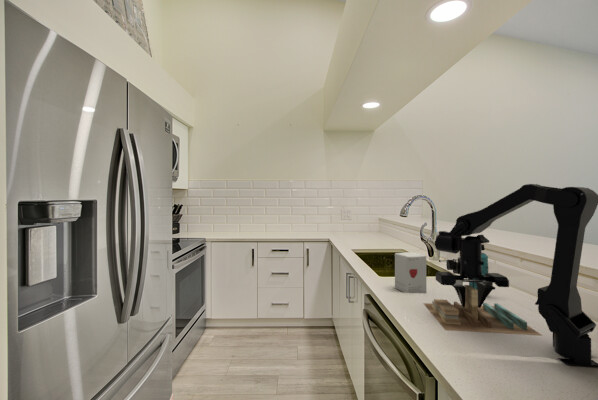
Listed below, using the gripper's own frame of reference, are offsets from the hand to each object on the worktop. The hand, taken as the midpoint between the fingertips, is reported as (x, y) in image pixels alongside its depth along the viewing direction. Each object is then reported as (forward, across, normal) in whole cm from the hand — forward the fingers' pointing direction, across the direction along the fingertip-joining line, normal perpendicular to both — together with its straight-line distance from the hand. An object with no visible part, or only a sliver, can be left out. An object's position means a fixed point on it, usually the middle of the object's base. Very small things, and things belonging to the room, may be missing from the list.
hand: (471, 307), depth 84 cm
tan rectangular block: (+3, 0, 0) cm, 3 cm away
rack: (+4, 0, 0) cm, 4 cm away
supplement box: (+4, +11, -27) cm, 29 cm away
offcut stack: (+3, +8, 0) cm, 8 cm away
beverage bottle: (+4, -13, -23) cm, 27 cm away
